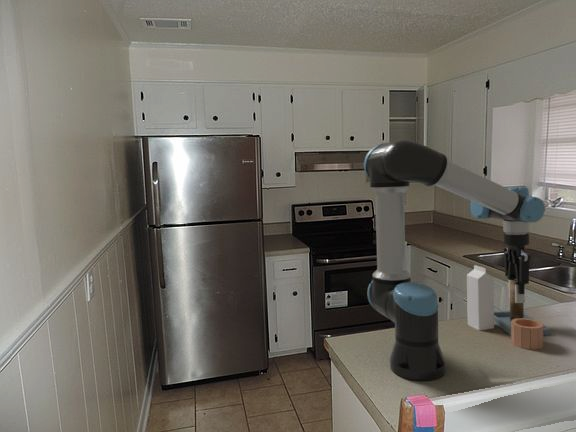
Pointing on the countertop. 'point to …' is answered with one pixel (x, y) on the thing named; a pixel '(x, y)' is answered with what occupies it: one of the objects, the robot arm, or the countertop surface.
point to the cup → (527, 333)
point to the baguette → (515, 304)
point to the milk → (480, 299)
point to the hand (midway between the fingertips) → (516, 300)
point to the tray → (504, 322)
